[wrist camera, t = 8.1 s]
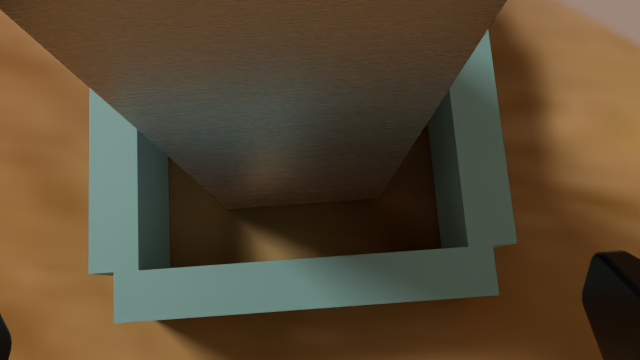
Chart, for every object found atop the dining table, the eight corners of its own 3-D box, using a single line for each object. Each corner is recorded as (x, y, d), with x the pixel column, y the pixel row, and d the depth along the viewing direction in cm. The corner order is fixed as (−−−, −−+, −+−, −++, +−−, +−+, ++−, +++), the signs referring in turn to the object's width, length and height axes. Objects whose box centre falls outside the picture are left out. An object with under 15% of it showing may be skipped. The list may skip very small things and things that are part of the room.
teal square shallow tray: (487, 292, 17) (524, 293, 14) (129, 318, 16) (87, 325, 13) (447, -32, 18) (471, -93, 16) (127, -12, 18) (90, -69, 15)
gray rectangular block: (377, 198, 17) (552, -70, 4) (228, 209, 17) (-45, -32, 4) (364, 58, 18) (478, -515, 5) (222, 67, 18) (-22, -490, 5)
